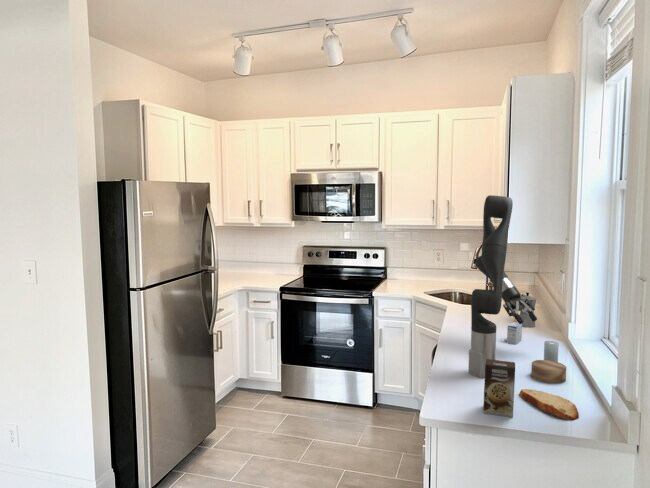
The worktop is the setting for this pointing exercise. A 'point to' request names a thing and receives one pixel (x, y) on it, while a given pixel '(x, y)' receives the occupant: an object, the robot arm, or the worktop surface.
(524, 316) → the coffeepot
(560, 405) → the bread slice
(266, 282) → the worktop surface
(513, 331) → the medicine box
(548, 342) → the dome-topped grey cylinder
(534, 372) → the walnut round
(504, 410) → the coffee box
